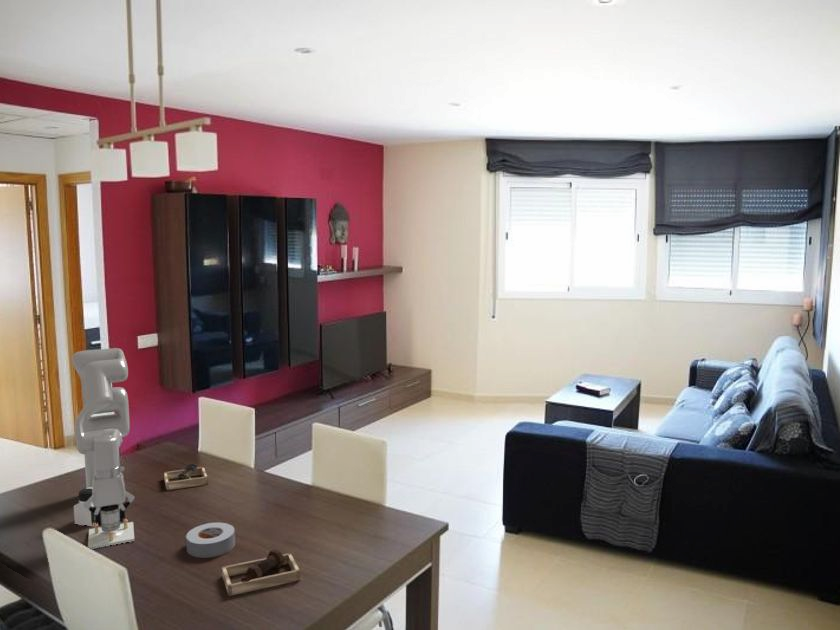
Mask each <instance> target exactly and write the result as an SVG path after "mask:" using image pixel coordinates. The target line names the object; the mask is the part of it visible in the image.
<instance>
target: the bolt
mask: <svg viewBox="0 0 840 630" xmlns="http://www.w3.org/2000/svg"><path fill="white" fill-rule="evenodd" d="M268 552H269V553H268V554H267V557H266V558H267V559H265V560H264V561H262V562H261V563H259V564H258V565H257V566H256V565H251V566H250V567H249V568H248V570H247V572H246V573H243V574H241V576H240V582H243V581H249V580H252V579H256V578H261V577H263V575H264V574H265V573H266V572H268V571H270V569H272V568H276V569H279V568H281V566H283V565H282V564H283V562H284V557H283V555H282V554H283V553H282V552H281V550H279V549H274V548H273V549H271V550H270V551H268Z"/></svg>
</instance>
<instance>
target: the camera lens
mask: <svg viewBox="0 0 840 630" xmlns="http://www.w3.org/2000/svg"><path fill="white" fill-rule="evenodd" d="M120 509H121V508H120V506H119V505H118V504H116V505H110V506H103V507H102V508H101V509H100V522H101V525H100V527H101V528H102V531H104V532H110V531H115V530H117V529H119V528H120V524H122V522H121V519H120Z"/></svg>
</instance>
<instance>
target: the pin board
mask: <svg viewBox="0 0 840 630" xmlns="http://www.w3.org/2000/svg"><path fill="white" fill-rule="evenodd" d="M134 526H135V525H134V521H130V522H129V520H128V519H127V518H124V519H123V522H122V523H121V524H120V528H119V529H117V530H115V531H110V532H104V531H102V528H101V526H98V523H97V524H95V525H93V528H89V529H88V538H87V539H88V540H87V548H88V547H89V548H91V549H90V550H95V549H100V548H106V547H111V546H110V545H112V546H117V545H116V544H118V545H122V544H121V543H123V544H127V543H126V542H129V543H133V542H132V541H134V542H135V531H134V530H135V529H134ZM105 546H106V547H105ZM99 547H100V548H99Z"/></svg>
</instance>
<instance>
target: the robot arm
mask: <svg viewBox="0 0 840 630" xmlns="http://www.w3.org/2000/svg"><path fill="white" fill-rule="evenodd" d="M71 359H72V365H73V367H74V369H75V371H76V373H77V375H78V376H79V379H80V383H81V397H82V398H81V399H82V409H81V410H80V412H79V413H78V415H77V417H76V419H75V421H74V422H75V423H74V439H75V447H76V450H77V452H78V453H79V454H81V455H84V456H83V457H84V470H85V471H84V472H85V483H86V484H85V485H86V488H92V496H91V497H90V498H89V499H88V500H87V501H86V502H85V503H84V507H85V508H87V509H88V510H89V511H91V512H92V513H94V515H95V517H96V523H97V524H98V526H99V527H101V522H100V512H99V511H100V508H101V507H103V506H110V505H119V506H120V519H121V523H123V520H124V519H126V512H125V510H126V509H127V508H128V507H129V506H130V505H131V503H132V502H133V501H134V500H135V496H134V495H133V494H131V493H130V492H129V491H127V490H126V485H125V478H124V475H123V472H124V471H125V466H121V465H120V452H119V451H120V450H119V448H120V447H121V445H122V444H123V437H127V436H128V435H129V433H130V430H131V429H130V427H131V426H130V424H131V423H130V408H129V407H130V406H129V396H128V392H127V390H126V389H125V388H124V387H121V386H116V387H112V384H113V383H122V382H125V381H126V380H127V379H128V377H129V367H128V363H127V362H128V361H127V359H126V357H125V353H124V351H123V349H121V348H118V347H113V348H101V349H100V348H99V349H98V348H97V349H88V350H87V349H86V350H79V351H77V352H75V353H74V354H73V355H72V358H71ZM107 413H113V414H107ZM99 414H100V415H99ZM101 414H102V415H101ZM93 415H94V416H93ZM95 415H96V416H95ZM126 498H127V500H126ZM92 501H93V506H94V507H96V508H94V507H93V506H91V505H90V503H91V502H92Z"/></svg>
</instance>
